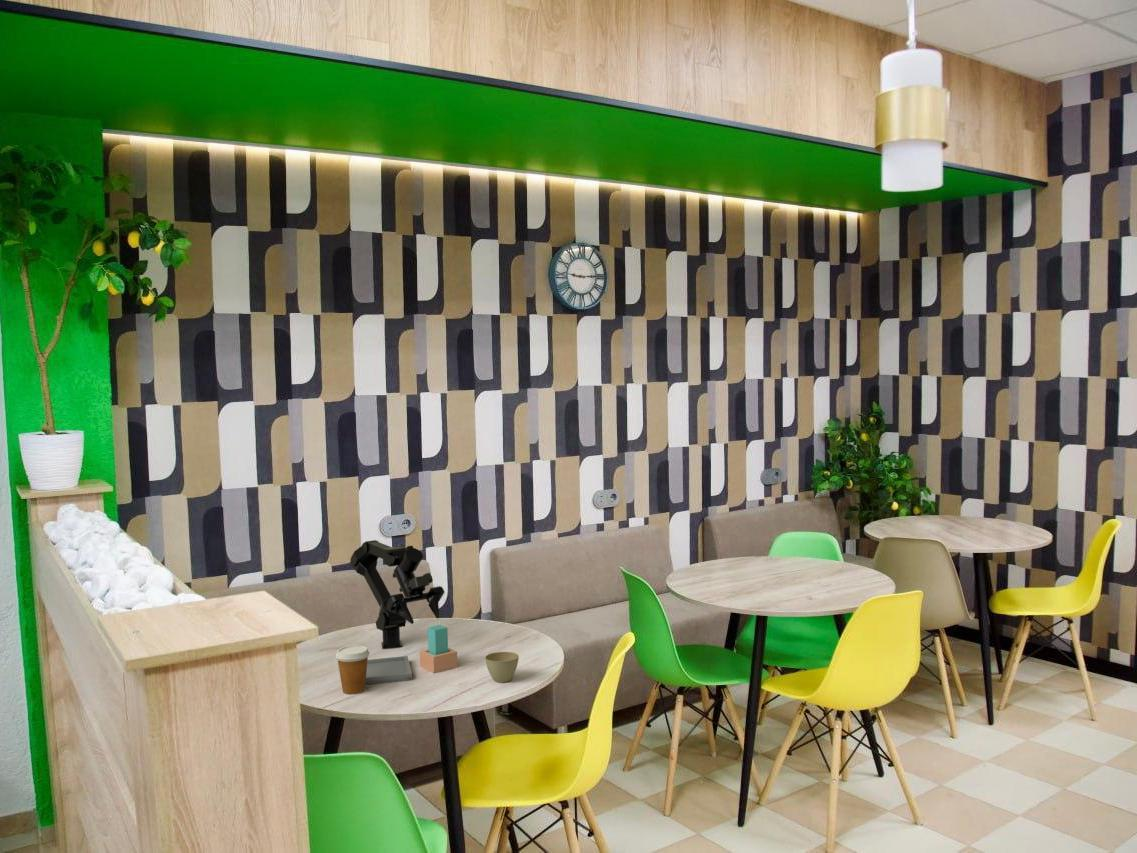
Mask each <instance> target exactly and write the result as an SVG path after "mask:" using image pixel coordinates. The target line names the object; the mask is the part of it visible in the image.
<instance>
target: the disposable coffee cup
mask: <svg viewBox="0 0 1137 853" xmlns="http://www.w3.org/2000/svg"><path fill="white" fill-rule="evenodd" d="M369 655H370V651H369V649H368V647H367V646H366V645H365V646H364V645H347V646H342V647H340V648H338V649H337V651H336V654H335V658H336V660H337V665H338V672H339V676H340V682H341V689H342V693H343V694H346V695H357V694H360V693H363V692H365V690H366V685H365V683H366V671H367V660H369V659H368V658H369Z"/></svg>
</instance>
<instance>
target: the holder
mask: <svg viewBox="0 0 1137 853" xmlns="http://www.w3.org/2000/svg"><path fill="white" fill-rule="evenodd" d="M419 668H422V669H424V670H426V671H428V672H431V673H432V674H436V673H441V672H444V671H448V670H453V669H456V668H458V651H457V650H454V649H452V648H450V647H448V652H447V653H443V654H439V655H433V654H430V653H429V650H428V648H427V649H422V650H419Z"/></svg>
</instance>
